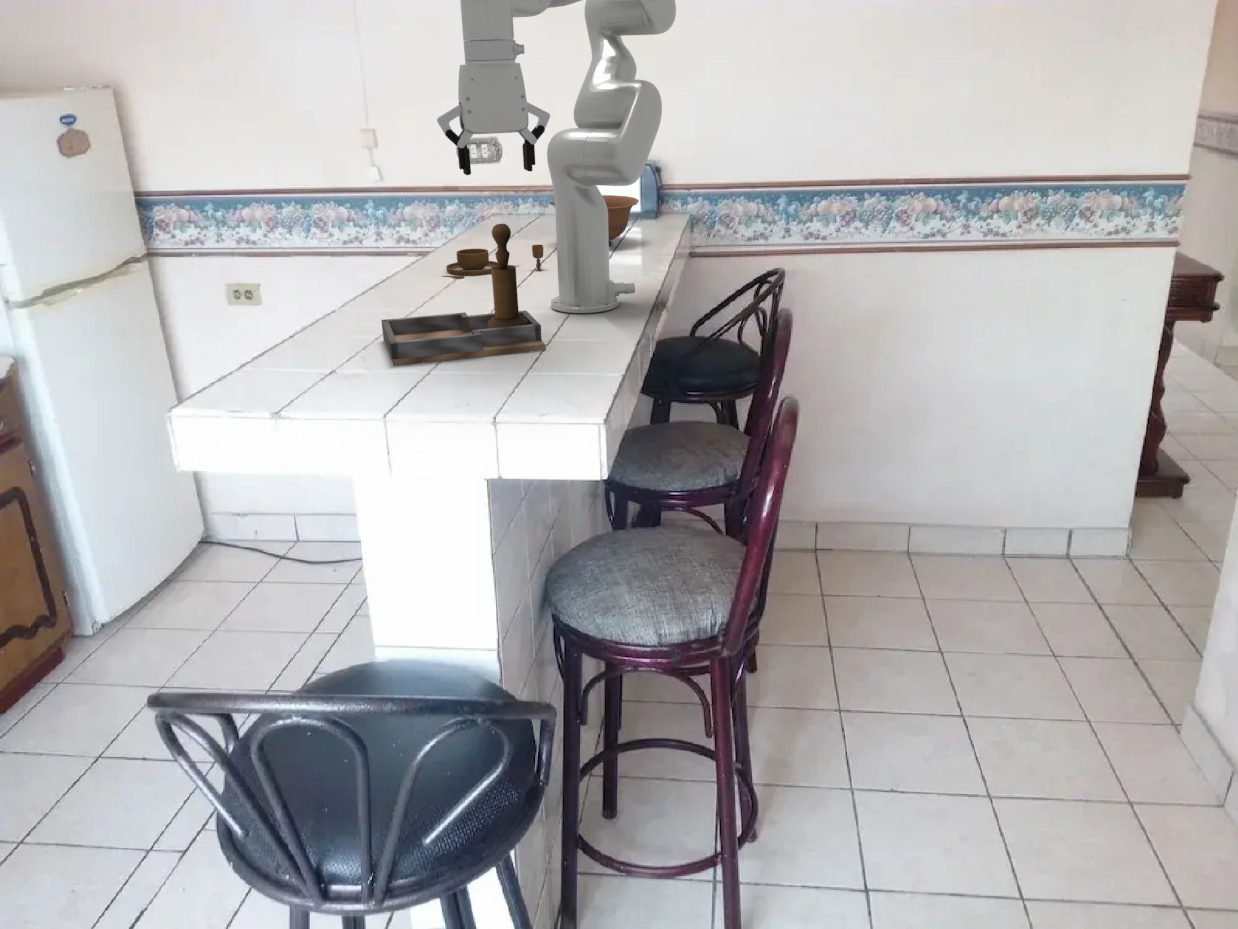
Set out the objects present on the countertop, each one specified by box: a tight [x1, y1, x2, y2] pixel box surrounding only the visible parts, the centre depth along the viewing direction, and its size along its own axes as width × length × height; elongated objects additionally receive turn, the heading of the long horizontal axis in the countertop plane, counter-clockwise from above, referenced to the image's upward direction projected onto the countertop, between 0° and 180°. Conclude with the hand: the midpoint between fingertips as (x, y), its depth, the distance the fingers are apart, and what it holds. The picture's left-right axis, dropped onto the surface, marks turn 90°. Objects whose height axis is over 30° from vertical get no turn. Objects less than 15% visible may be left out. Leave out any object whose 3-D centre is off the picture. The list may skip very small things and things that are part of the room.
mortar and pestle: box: [487, 223, 527, 329], centre depth 164 cm, size 7×6×18 cm
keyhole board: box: [380, 310, 546, 367], centre depth 165 cm, size 24×16×4 cm, turn 107°
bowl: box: [548, 194, 639, 247], centre depth 249 cm, size 22×22×11 cm
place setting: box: [442, 244, 544, 280], centre depth 221 cm, size 18×20×6 cm
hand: (497, 172), depth 158 cm, fingers open, 9 cm apart
